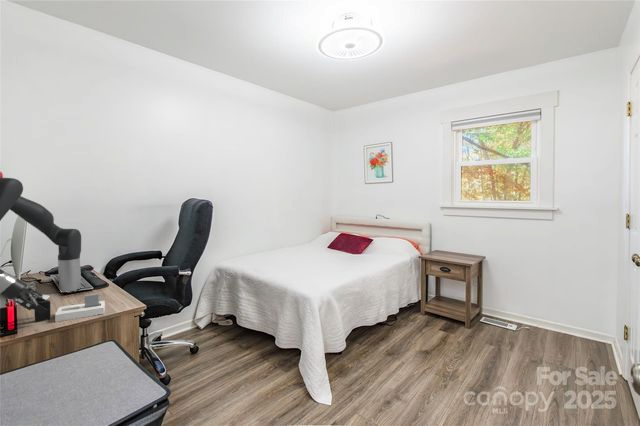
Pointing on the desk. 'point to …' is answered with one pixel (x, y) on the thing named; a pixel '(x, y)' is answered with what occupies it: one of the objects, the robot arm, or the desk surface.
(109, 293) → the desk surface
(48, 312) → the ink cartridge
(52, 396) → the desk surface
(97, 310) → the white slotted tray
